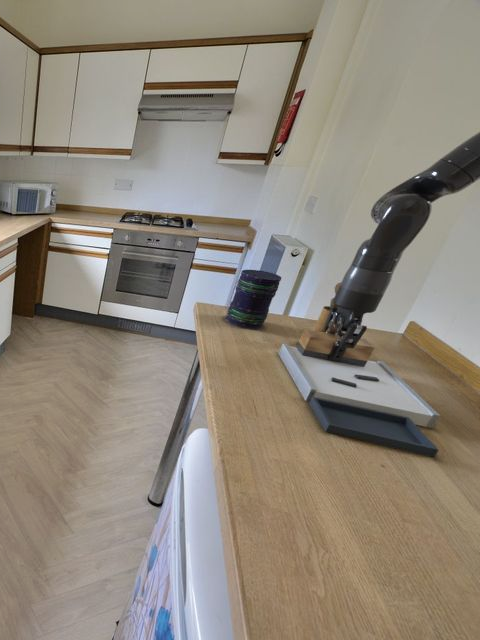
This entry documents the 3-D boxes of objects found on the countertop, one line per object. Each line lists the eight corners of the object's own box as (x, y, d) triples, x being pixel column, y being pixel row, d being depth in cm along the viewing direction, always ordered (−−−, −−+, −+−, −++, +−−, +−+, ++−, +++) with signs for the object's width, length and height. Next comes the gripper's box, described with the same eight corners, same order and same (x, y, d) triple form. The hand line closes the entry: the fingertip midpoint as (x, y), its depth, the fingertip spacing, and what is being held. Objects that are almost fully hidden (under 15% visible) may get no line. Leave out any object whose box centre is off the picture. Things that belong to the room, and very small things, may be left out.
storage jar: (240, 315, 128) (256, 268, 122) (270, 327, 120) (290, 278, 114) (217, 318, 125) (233, 270, 118) (247, 331, 117) (266, 280, 110)
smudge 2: (374, 379, 89) (376, 377, 88) (378, 381, 88) (379, 379, 87) (353, 376, 89) (354, 374, 89) (357, 378, 88) (358, 376, 88)
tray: (404, 424, 78) (408, 417, 77) (433, 457, 70) (438, 449, 69) (309, 403, 83) (312, 396, 83) (325, 431, 75) (329, 424, 74)
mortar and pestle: (306, 351, 106) (337, 284, 98) (295, 341, 112) (322, 277, 104) (336, 355, 105) (369, 288, 97) (322, 344, 110) (352, 280, 103)
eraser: (355, 358, 98) (365, 339, 96) (364, 367, 94) (374, 347, 92) (296, 347, 102) (304, 329, 100) (301, 355, 98) (310, 336, 96)
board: (377, 372, 97) (383, 361, 96) (432, 428, 77) (440, 415, 76) (278, 353, 104) (282, 343, 103) (305, 400, 84) (311, 388, 83)
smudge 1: (355, 385, 86) (356, 383, 86) (355, 387, 85) (356, 385, 85) (331, 379, 88) (332, 377, 88) (331, 381, 87) (332, 379, 87)
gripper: (399, 300, 83) (360, 372, 90) (370, 281, 95) (338, 347, 102) (353, 293, 86) (319, 364, 93) (330, 276, 98) (302, 340, 105)
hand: (329, 355), depth 98 cm, fingers closed on eraser, 5 cm apart
